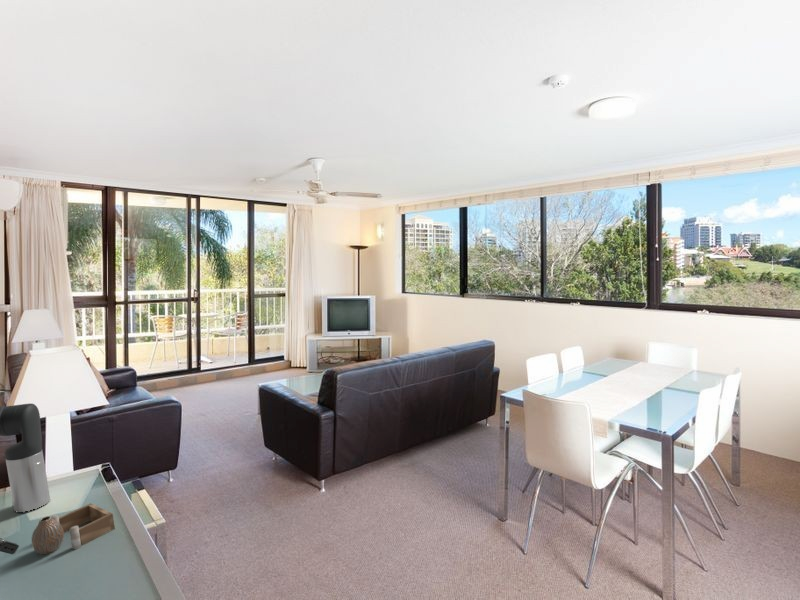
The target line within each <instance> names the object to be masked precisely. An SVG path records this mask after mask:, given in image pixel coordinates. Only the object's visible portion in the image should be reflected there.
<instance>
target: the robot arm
mask: <svg viewBox="0 0 800 600" xmlns="http://www.w3.org/2000/svg"><path fill="white" fill-rule="evenodd" d="M41 426H42V425H41V414H40V410H39V408H38V406H37V405H36V404H34V403H24V404H16V405H15V404H13V405H6V406H5V405H4V406H3V405H1V404H0V436H1V437H10V436H18V435H21V441H19V442H17V443H14V444H12V445H10V446H9V447H7V448H6V449H5V451H4V457H5V458H4V459H5V464H6V470H7V475H8V482H9V487H10V493H11V500H12V504H13V511H14V510H15V511H17V512H23V513H26V512H25V511H28V512H31V511H30V510H32V511H34V510H33V509H35V510H37V508H38V509H39V507H40V508H42V507H44V506H45V504H46V503H47V502H48V501H49V500H50V501H51V495H50V487H49V483H48V482H49V481H48V477H47V471H46V465H45V464H46V463H45V457H44V452H43V436H42V427H41ZM50 501H49V502H50ZM49 502H48V503H49ZM48 503H47V504H48ZM47 504H46V505H47ZM43 505H44V506H43ZM41 506H42V507H41ZM15 511H14V512H15ZM17 512H16V513H17ZM19 547H20V545H19V544H17V542H11V541H9V540H5V539H3V538H2V537H0V553H1V552H2V553H5V554H10V555H14V554H15V553H16V551H18V549H19Z"/></svg>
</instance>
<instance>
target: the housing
mask: <svg viewBox="0 0 800 600" xmlns="http://www.w3.org/2000/svg"><path fill="white" fill-rule="evenodd" d="M50 517H51V518H52V519H53V520H55V521H57V522H59V523H60V524H61V526H62V527H63V530H64V534H65V533H67V532H68V531H69V535H70V541H71V548H72V550H78V549H80V548H82V546H84V545H85V544H88V543H90V542H92V541H94V540H96V539H97V538H99V537H101V536H103V535H105V534H107V533H109V532H111V531H113V530H114V529H116V528H115V527H116V526H115V520H114V514H113V513H112V512H109V511H108V510H105V509H103V508H101V507H99V506H97V505H95V504H93V503H88V504H86V505H83V506H81V507H79V508H77V509H75V510H73V511H70V512H68V513H66V514H64V515H62V516H59V514H55V515H52V516H50ZM90 521H91V522H90ZM87 522H90V523H88V524H85V523H87ZM83 524H84V525H83ZM82 525H83V526H82ZM79 526H81V527H79Z"/></svg>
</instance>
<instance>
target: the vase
mask: <svg viewBox="0 0 800 600" xmlns="http://www.w3.org/2000/svg"><path fill="white" fill-rule="evenodd" d="M51 517H52V516H45V517H42V518H40V520H39V522H38V523H37V525H36V527H35V529H34V531H33V532H32V535H31V544H32V545H31V546H32V548H33V550H34V551H35V552H36V553H38V554H41V555H47V554H51V553H53V552H55V551H57V550H58V549H59V548H60V547H61V545H62V543H63V542H64V537H65V533H64V530H63V527H62V526H61V524H60V523H59V522H57V521H55V520H53V519H52V518H51Z"/></svg>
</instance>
